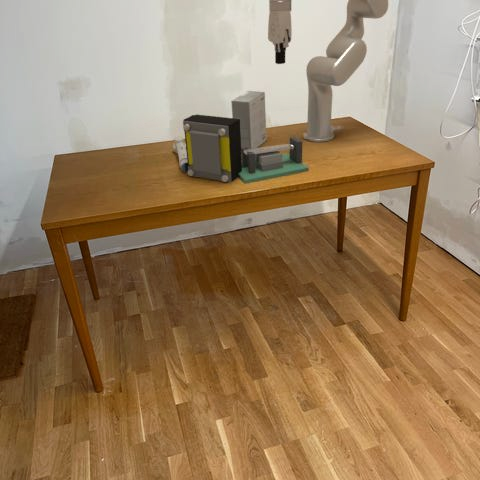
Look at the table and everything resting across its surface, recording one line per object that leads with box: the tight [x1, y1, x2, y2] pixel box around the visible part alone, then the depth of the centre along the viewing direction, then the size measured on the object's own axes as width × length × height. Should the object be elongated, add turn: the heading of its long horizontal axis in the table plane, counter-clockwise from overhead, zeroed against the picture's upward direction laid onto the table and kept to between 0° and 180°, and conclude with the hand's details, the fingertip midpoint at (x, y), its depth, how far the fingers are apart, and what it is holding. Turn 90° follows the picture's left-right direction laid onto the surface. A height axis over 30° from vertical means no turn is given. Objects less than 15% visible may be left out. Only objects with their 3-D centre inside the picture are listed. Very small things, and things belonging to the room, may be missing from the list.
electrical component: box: [182, 114, 242, 184], centre depth 159 cm, size 18×10×20 cm, turn 62°
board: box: [238, 136, 309, 184], centre depth 164 cm, size 24×16×9 cm, turn 111°
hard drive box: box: [230, 90, 267, 149], centre depth 183 cm, size 16×8×20 cm, turn 154°
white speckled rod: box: [172, 136, 188, 173], centre depth 177 cm, size 5×7×25 cm
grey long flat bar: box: [244, 141, 295, 155], centre depth 163 cm, size 18×4×1 cm, turn 111°
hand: (280, 63), depth 168 cm, fingers closed
